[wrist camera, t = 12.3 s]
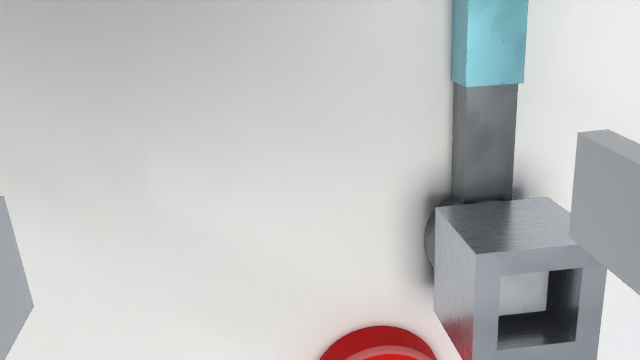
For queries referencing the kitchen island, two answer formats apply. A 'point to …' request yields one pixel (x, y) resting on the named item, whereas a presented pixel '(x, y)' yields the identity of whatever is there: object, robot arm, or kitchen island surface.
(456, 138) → the ratchet
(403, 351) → the decorative ornament
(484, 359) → the hollow square tube
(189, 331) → the kitchen island surface
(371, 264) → the kitchen island surface
